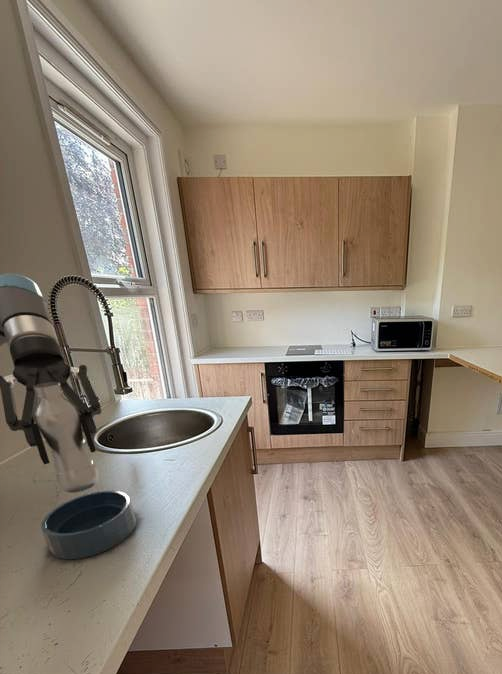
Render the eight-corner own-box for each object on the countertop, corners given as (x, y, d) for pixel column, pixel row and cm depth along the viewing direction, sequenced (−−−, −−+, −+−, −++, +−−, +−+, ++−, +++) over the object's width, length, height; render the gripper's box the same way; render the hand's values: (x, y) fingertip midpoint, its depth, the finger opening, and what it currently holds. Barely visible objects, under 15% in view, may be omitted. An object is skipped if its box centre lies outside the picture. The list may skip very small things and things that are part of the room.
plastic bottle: (91, 475, 70) (60, 378, 62) (108, 485, 66) (76, 383, 58) (54, 490, 65) (15, 386, 57) (70, 501, 61) (30, 392, 54)
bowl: (33, 565, 62) (21, 538, 60) (80, 515, 75) (72, 492, 73) (115, 560, 63) (106, 533, 60) (148, 512, 76) (142, 488, 74)
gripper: (95, 353, 74) (130, 447, 68) (-26, 366, 63) (4, 480, 57) (92, 329, 68) (130, 430, 62) (-43, 339, 57) (-12, 463, 51)
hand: (69, 454), depth 60 cm, fingers closed on plastic bottle, 6 cm apart
